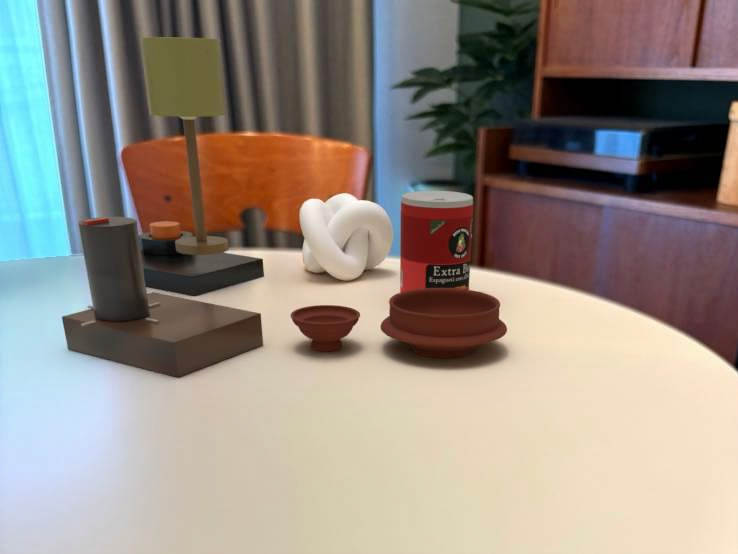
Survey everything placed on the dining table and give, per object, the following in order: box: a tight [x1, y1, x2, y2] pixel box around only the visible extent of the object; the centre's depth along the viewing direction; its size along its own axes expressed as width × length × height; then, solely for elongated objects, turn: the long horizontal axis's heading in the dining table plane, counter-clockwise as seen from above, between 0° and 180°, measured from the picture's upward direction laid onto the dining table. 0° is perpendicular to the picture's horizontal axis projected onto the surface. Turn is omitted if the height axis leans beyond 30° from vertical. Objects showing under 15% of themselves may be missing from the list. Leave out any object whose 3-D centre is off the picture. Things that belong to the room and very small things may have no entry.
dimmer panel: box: [61, 291, 264, 378], centre depth 76 cm, size 14×12×3 cm
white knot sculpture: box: [298, 192, 394, 282], centre depth 101 cm, size 11×12×9 cm
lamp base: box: [138, 230, 265, 297], centre depth 100 cm, size 16×12×4 cm
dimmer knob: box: [77, 216, 150, 321], centre depth 73 cm, size 5×5×8 cm
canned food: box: [399, 190, 474, 293], centre depth 90 cm, size 8×8×11 cm
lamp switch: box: [149, 220, 182, 238], centre depth 103 cm, size 4×4×2 cm
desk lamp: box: [139, 36, 230, 255], centre depth 91 cm, size 8×8×21 cm
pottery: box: [290, 288, 508, 359], centre depth 77 cm, size 12×20×4 cm, turn 90°
